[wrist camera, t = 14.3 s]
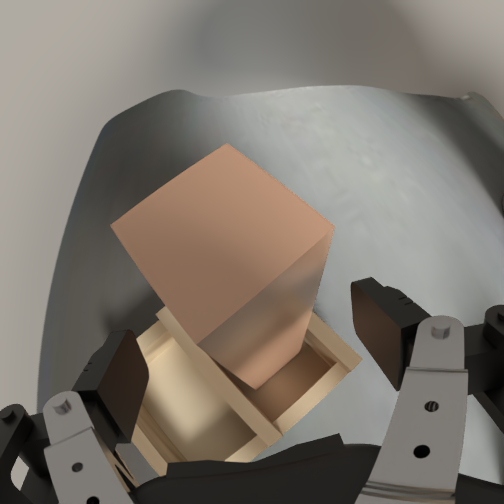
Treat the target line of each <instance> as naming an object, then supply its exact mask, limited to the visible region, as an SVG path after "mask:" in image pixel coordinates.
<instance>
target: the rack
mask: <svg viewBox="0 0 504 504" xmlns="http://www.w3.org/2000/svg"><path fill="white" fill-rule="evenodd" d="M156 315H157V317H158V318H159V320H158V321H157V322H156V323H155V324H154V325H152V326H151V327H150V328H149V329H148V330H146V331H145V332H144V333H143V334H141V335H140V336H139V337H138V338H137V339H136V340H137V342H138V345H139V347H140V349H141V352H142V354H143V356H144V358H145V361H146V363H147V366H148V369H149V381H148V385H147V388H146V391H145V394H144V398H143V401H142V404H141V408H140V411H139V415H138V418H137V421H136V425H135V428H134V432H133V436H132V439H131V440H132V441H133V443H134V444H135V446H136V447H137V448H138V450H139V451H140V452H141V453H142V455H143V456H144V457H145V459H146V460H147V461H148V462H149V464H150V465H151V466H152V467H153V469H154V470H155V471H156V472H157V473H158V475H159V476H163V475H166V471H167V464H168V463H173V462H188V461H200V460H216V461H229V462H250V461H251V460H252V459H253V458H255V457H256V456H257V455H259V454H260V453H261V452H262V451H264V450H265V449H266V448H267V447H268V446H269V447H270V446H272V445H273V444H274V443H275V442H276V441H278V440H279V439H280V438H281V437H282V436H283V434H284V433H285V432H286V431H288V430H289V429H290V428H291V427H292V426H293V425H294V424H296V423H297V422H298V421H299V420H300V419H301V418H302V417H303V416H304V415H306V414H307V413H308V412H309V411H310V410H311V409H312V408H313V407H314V406H315V405H316V404H317V403H318V402H320V401H321V400H322V399H323V398H324V397H325V396H326V395H327V394H328V393H329V392H330V391H331V390H332V389H333V388H334V387H335V386H336V385H337V384H338V383H339V382H340V381H341V380H342V379H343V378H344V377H345V376H346V375H347V374H348V373H349V372H351V371H352V370H353V369H354V368H355V367H356V366H357V365H358V364H359V363H360V361H361V360H362V358H361V357H360V356H359V355H358V354H357V353H356V352H355V351H354V350H353V349H352V348H351V347H350V346H348V345H347V344H346V343H345V342H344V341H343V340H342V339H341V338H340V337H339V336H338V335H337V334H336V333H335V332H334V331H333V330H332V329H331V328H330V327H329V326H327V325H326V324H325V323H324V322H323V321H322V320H321V319H320V318H319V317H318V316H317V315H316V314H315V313H314V312H313V311H312V313H311V317H310V320H309V323H308V326H307V330H306V333H305V336H304V339H303V343H302V346H301V349H300V352H299V353H298V354H297V355H296V356H295V357H294V358H293V359H292V360H291V361H289V362H288V363H287V364H286V365H285V366H284V367H283V368H282V369H281V370H279V371H278V372H277V373H276V374H275V375H274V376H273V377H271V378H270V379H269V380H268V381H267V382H266V383H264V384H263V385H262V386H261V387H260V388H258V389H257V390H255V389H254V388H252V387H251V386H249V385H248V384H247V383H245V382H244V381H242V380H241V379H240V378H238V377H237V376H236V375H234V374H233V373H232V372H230V371H229V370H228V369H226V368H225V367H224V366H222V365H221V364H220V363H218V362H217V361H216V360H215V359H213V358H212V357H211V356H209V355H208V354H207V353H206V352H204V351H203V350H202V349H201V348H199V347H198V346H197V345H196V344H195V343H194V342H193V340H192V339H191V338H190V337H189V335H188V334H187V333H186V332H185V330H184V329H183V328H182V327H181V325H180V324H179V323H178V321H177V320H176V319H175V317H174V316H173V315H172V313H171V312H170V311H169V310H168V308H167V307H166V306H165V307H163V308H162V309H161V310H160V311H159V312H157V313H156Z"/></svg>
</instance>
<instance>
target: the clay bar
mask: <svg viewBox="0 0 504 504" xmlns="http://www.w3.org/2000/svg"><path fill="white" fill-rule="evenodd" d="M110 226H111V227H112V229H113V231H114V232H115V234H116V235H117V237H118V238H119V240H120V241H121V243H122V244H123V246H124V247H125V249H126V250H127V252H128V253H129V255H130V256H131V258H132V259H133V261H134V262H135V264H136V265H137V267H138V268H139V269H140V271H141V272H142V274H143V275H144V277H145V278H146V279H147V281H148V282H149V284H150V285H151V286H152V288H153V289H154V291H155V292H156V293H157V295H158V296H159V297H160V299H161V300H162V301H163V303H164V304H165V306H166V307H167V308H168V310H169V311H170V312H171V313H172V315H173V316H174V317H175V319H176V320H177V321H178V323H179V324H180V325H181V327H182V328H183V329H184V330H185V332H186V333H187V334H188V335H189V337H190V338H191V339H192V340H193V342H194V343H195V344H196V345H197V346H198V347H199V348H201V349H202V350H203V351H204V352H206V353H207V354H208V355H209V356H211V357H212V358H213V359H215V360H216V361H217V362H218V363H220V364H221V365H222V366H224V367H225V368H226V369H228V370H229V371H230V372H232V373H233V374H234V375H236V376H237V377H238V378H240V379H241V380H242V381H244V382H245V383H247V384H248V385H249V386H251V387H252V388H254V389H255V390H257V389H258V388H260V387H261V386H262V385H263V384H264V383H266V382H267V381H268V380H269V379H270V378H271V377H273V376H274V375H275V374H276V373H277V372H278V371H279V370H281V369H282V368H283V367H284V366H285V365H286V364H287V363H288V362H289V361H291V360H292V359H293V358H294V357H295V356H296V355H297V354H298V353H299V352H300V349H301V346H302V343H303V339H304V336H305V333H306V330H307V326H308V323H309V320H310V317H311V313H312V310H313V306H314V303H315V300H316V296H317V293H318V289H319V285H320V282H321V278H322V275H323V271H324V267H325V263H326V260H327V256H328V252H329V248H330V244H331V240H332V236H333V232H334V228H335V226H334V225H333V224H331V223H330V222H329V221H328V220H327V219H325V218H324V217H323V216H322V215H321V214H319V213H318V212H317V211H316V210H314V209H313V208H312V207H311V206H309V205H308V204H307V203H306V202H304V201H303V200H302V199H301V198H299V197H298V196H297V195H296V194H294V193H293V192H292V191H290V190H289V189H288V188H287V187H285V186H284V185H283V184H281V183H280V182H279V181H278V180H276V179H275V178H274V177H272V176H271V175H270V174H268V173H267V172H266V171H264V170H263V169H262V168H260V167H259V166H258V165H256V164H255V163H254V162H252V161H251V160H250V159H248V158H247V157H246V156H244V155H243V154H241V153H240V152H239V151H237V150H236V149H235V148H233V147H232V146H230V145H229V144H228V143H227V144H225V145H223V146H222V147H220V148H219V149H217V150H215V151H214V152H212V153H211V154H209V155H208V156H206V157H205V158H203V159H202V160H200V161H199V162H197V163H195V164H194V165H192V166H191V167H190V168H188V169H187V170H185V171H184V172H182V173H181V174H179V175H178V176H176V177H175V178H173V179H172V180H171V181H169V182H168V183H166V184H165V185H163V186H162V187H161V188H159V189H158V190H156V191H155V192H154V193H152V194H151V195H150V196H148V197H147V198H145V199H144V200H143V201H141V202H140V203H139V204H137V205H136V206H135V207H133V208H132V209H131V210H129V211H128V212H127V213H125V214H124V215H123V216H122V217H120V218H119V219H118V220H116V221H115V222H114V223H113V224H111V225H110Z"/></svg>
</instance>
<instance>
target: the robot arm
mask: <svg viewBox="0 0 504 504" xmlns="http://www.w3.org/2000/svg"><path fill="white" fill-rule="evenodd" d="M502 204H503V210H504V195H503V200H502ZM351 299H352V312H353V324H354V328H355V331H356V334H357V336H358V338H359V339H360V340H361V342H362V343H363V344H364V346H365V347H366V349H367V350H368V351H369V353H370V354H371V356H372V357H373V358H374V360H375V361H376V363H377V364H378V365H379V367H380V368H381V370H382V371H383V373H384V374H385V375H386V377H387V378H388V380H389V381H390V383H391V384H392V385H393V387H394V388H395V390H396V391H399V390H400V392H399V396H398V399H397V403H396V406H395V409H394V412H393V415H392V418H391V421H390V424H389V427H388V430H387V433H386V436H385V439H384V442H383V444H382V446H378V445H372V444H343V441H342V439H341V436H340V434H339V433H338V434H335V435H332V436H328V437H325V438H321V439H317V440H313V441H310V442H306V443H301V444H297V445H295V446H292V447H290V448H288V449H286V450H283V451H281V452H278V453H276V454H274V455H271V456H269V457H266V458H264V459H261V460H258V461H255V462H229V461H216V460H200V461H188V462H173V463H168V464H167V471H166V475H163V476H160V477H157V478H154V479H152V480H150V481H147V482H145V483H143V484H142V485H139V484H138V482H137V481H136V479H135V478H134V476H133V475H132V473H131V472H130V470H129V469H128V467H127V466H126V464H125V463H124V461H123V459H122V458H121V456H120V454H119V453H118V452H117V450H116V449H115V447H116V444H117V443H131V439H132V436H133V432H134V428H135V425H136V421H137V418H138V415H139V411H140V408H141V404H142V401H143V398H144V394H145V391H146V388H147V385H148V381H149V369H148V366H147V363H146V361H145V358H144V356H143V354H142V352H141V349H140V347H139V345H138V342H137V340H136V337H135V335H134V333H133V332H132V331H131V330H123V331H117V332H112V333H110V335H109V336H108V338H107V340H106V341H105V343H104V345H103V346H102V347H101V348H100V349H99V350H97V351H96V352H95V353H94V354H93V355H92V357H91V358H90V360H89V361H88V365H86V366H85V368H84V372H82V373H81V375H80V376H79V378H78V380H77V382H76V383H75V385H74V387H73V388H72V390H71V391H66V392H62V393H59V394H57V395H55V396H54V397H52V398H51V399H50V400H49V401H48V402H47V403H46V404H45V406H44V408H43V413H39V414H35V415H31V416H29V415H28V413H27V412H26V410H25V409H24V407H23V406H22V405H20V404H12V405H9V406H7V407H5V408H4V409H2V410H1V411H0V504H58V503H60V504H504V485H500V484H496V483H492V482H488V481H484V480H481V479H477V478H474V477H470V476H467V475H463V474H460V473H458V472H459V466H460V460H461V454H462V447H463V439H464V431H465V421H466V410H467V395H471V394H473V395H474V397H475V398H476V399H477V400H478V401H479V403H480V404H481V405H482V406H483V408H484V409H485V410H486V412H487V413H488V414H489V415H490V417H491V418H492V419H493V421H494V422H495V423H496V424H497V426H498V427H499V428H500V430H501V431H502V432H503V434H504V305H496V306H493V307H491V308H489V309H488V310H487V311H486V313H485V319H484V324H479V325H474V326H468V327H463V325H462V323H461V322H460V321H459V320H457V319H455V318H453V317H449V316H433V317H432V316H431V315H430V314H428V313H427V312H426V311H425V310H423V309H422V308H421V307H420V306H419V305H417V304H416V303H415V302H414V303H413V301H412V300H411V299H410V298H409V297H408V298H407V296H406V295H405V294H404V293H402V292H401V291H400V290H398V289H395V288H392V287H389V286H386V287H383V286H382V285H381V284H380V283H378V282H377V281H376V280H375V279H374V278H372V277H369V278H365V279H362V280H358V281H354V282H352V283H351ZM18 456H19V457H20V458H21V459H22V460H23V462H24V463H25V464H26V465H27V466H28V467H29V470H28V472H27V475H26V477H25V480H24V482H23V485H22V487H21V490H20V491H19V490H18V489H17V488H16V487H15V486H14V484H13V483H12V480H11V470H12V468H13V466H14V463H15V461H16V459H17V457H18Z"/></svg>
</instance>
